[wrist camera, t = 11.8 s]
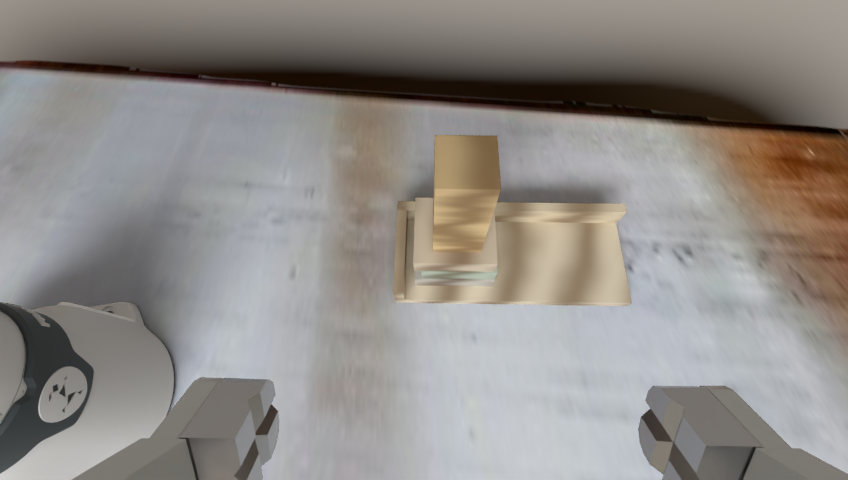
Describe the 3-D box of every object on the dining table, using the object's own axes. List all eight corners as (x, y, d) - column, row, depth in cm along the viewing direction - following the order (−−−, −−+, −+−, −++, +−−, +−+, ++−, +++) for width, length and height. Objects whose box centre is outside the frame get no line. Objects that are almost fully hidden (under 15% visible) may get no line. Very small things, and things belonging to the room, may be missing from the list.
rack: (395, 302, 42) (393, 291, 39) (400, 217, 46) (397, 201, 43) (626, 305, 42) (644, 295, 39) (609, 220, 46) (624, 203, 43)
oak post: (432, 251, 37) (434, 188, 27) (432, 209, 39) (435, 135, 29) (480, 252, 37) (501, 189, 27) (479, 209, 39) (497, 135, 29)
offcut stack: (415, 285, 42) (413, 265, 36) (416, 224, 45) (415, 197, 39) (492, 286, 42) (502, 266, 36) (489, 225, 45) (497, 198, 39)
